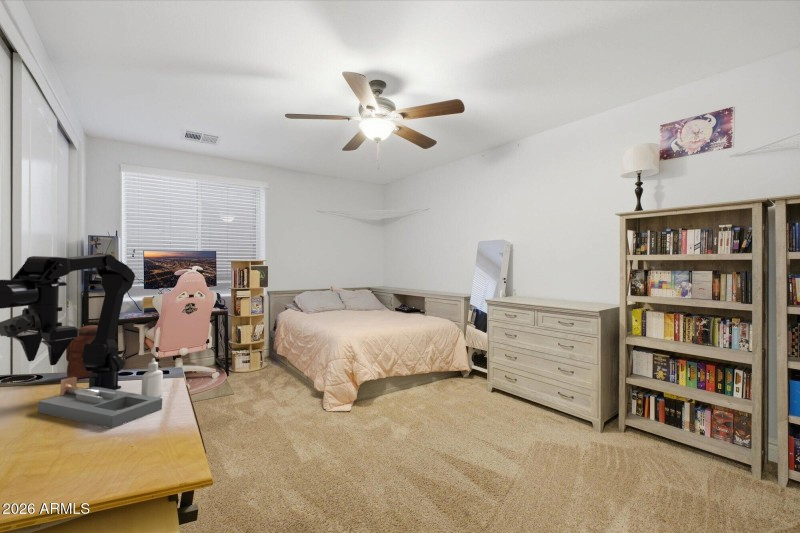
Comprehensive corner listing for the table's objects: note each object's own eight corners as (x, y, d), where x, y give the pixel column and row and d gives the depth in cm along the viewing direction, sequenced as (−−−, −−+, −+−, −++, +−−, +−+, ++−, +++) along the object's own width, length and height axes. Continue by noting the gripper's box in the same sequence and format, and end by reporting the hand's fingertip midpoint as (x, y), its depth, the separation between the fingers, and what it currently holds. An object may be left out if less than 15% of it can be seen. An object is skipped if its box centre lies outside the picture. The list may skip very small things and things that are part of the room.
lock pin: (72, 391, 106) (73, 376, 106) (102, 396, 102) (103, 381, 102) (60, 394, 103) (61, 379, 103) (90, 400, 99) (91, 385, 99)
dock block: (92, 396, 111) (93, 381, 111) (161, 408, 103) (162, 393, 103) (37, 412, 98) (38, 395, 98) (112, 428, 90) (112, 410, 90)
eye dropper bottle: (164, 398, 111) (166, 358, 111) (142, 402, 107) (144, 361, 107) (160, 394, 114) (162, 355, 114) (139, 398, 110) (140, 358, 110)
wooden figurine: (107, 371, 136) (109, 322, 137) (110, 374, 132) (112, 325, 132) (64, 376, 128) (66, 325, 128) (65, 381, 123) (68, 328, 124)
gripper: (-21, 304, 91) (-22, 366, 91) (26, 309, 85) (24, 376, 85) (35, 300, 102) (34, 356, 102) (80, 305, 96) (79, 364, 96)
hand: (41, 362), depth 96 cm, fingers open, 9 cm apart
